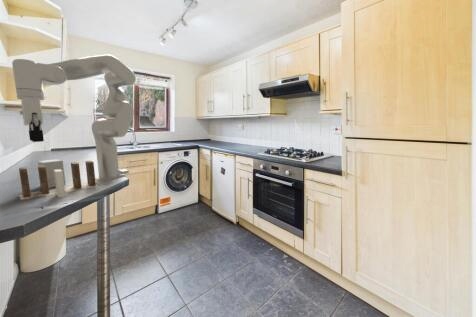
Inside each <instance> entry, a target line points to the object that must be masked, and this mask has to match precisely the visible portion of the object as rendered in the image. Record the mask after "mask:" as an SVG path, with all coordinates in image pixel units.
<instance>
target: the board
mask: <svg viewBox="0 0 476 317" xmlns="http://www.w3.org/2000/svg"><path fill="white" fill-rule="evenodd" d="M81 187H82V188H79V189H76V188H74V186H73V185H70V186H64V188H65V193H68V192H72V191H78V190H83V189H90V188H94V187H95V188H97V187H100V184H97V183H96V186H89V185H88V183H84V184H83V183H81ZM30 194H31V197H26V198H24V197H23V193H22V194H21V193H20V194H19V195H18V196H19V199H20V201H21V200H27V199H28V200H29V199H34V198H37V197H38V198H39V197H44V196H49V195H57V192H56V188H50V189H49V194H44V195H43V194H42V192H41V190H39V191H34V192H33V191H32V192H30Z"/></svg>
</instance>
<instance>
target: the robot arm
mask: <svg viewBox="0 0 476 317" xmlns="http://www.w3.org/2000/svg"><path fill="white" fill-rule="evenodd" d="M11 64H12V71H13V79H14V87H15V95H16V99H18V100H20V101H21V112H22V119H23V125H24V126H25V127H26V126H28V135H29V141H31V142H34V143H37V142H38V143H39V142H42V143H43V142H44V140H45V139H44V132H43V128H42V126H43V124H44V123H43V111H42V109H43V108H42V101H45V96H44V94H45V93H44V86H59V85H62V84H65V82H66V81H77V80H84V79H88V78H92V77H96V76H100V75H104V76H103V78H104V81H105V84H106V86H107V88H108V95H107V98H106V99H105V100H106V101H105V103H104V105H103V108H102V111H101V113H102V116H103V117H104V118H99V119H96V120H95V121H93V122H92V124H91V133H92V135H93V139H94V142H95V152H96V153H95V154H96V160H97V162H96V163H97V171H98V176H95V180H101V181H102V180H103V181H104V180H105V181H107V180H114V179H119V178H121V177H123V175H124V174H125V175H127V174H129V173H130V172H129V169H120V167H119V157H118V146H117V142H116V140H115V138H124V137H125V136H126V135H127V133H128V132H129V129H130V127H131V124H132V121H133V118H134V116H135V112H134V111H135V110H134V106H133V104H131V103H130V102H129V101H126V100H127V95H126V93H125V91H124V89H123V86H124V87H125V86H133V85H134V84H135V82H136V81H137V80H136V79H137V78H136V75H135V73H134V71H133V70H132V69H131V68H130V67H129V66H127V65H126V64H125V63H123V61H121V60H120V59H119V58H117V57H116V56H114V55H112V54H101V55H94V56H93V55H92V56H85V57H79V58H74V59H73V58H72V59H68V60H67V59H66V60H63V61H59V62H54V63H41V62H37V61H35V60H30V59H24V58H15V59H13V60H12V62H11Z"/></svg>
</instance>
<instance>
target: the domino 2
mask: <svg viewBox="0 0 476 317" xmlns="http://www.w3.org/2000/svg"><path fill="white" fill-rule="evenodd" d="M54 177H55V184H56V187H55V189H56V192H57V194H56V195H57V197H58V198H63V197H66V192H65V188H64V187H65V185H64V180H63V172H62V170H60V169H58V170H54Z"/></svg>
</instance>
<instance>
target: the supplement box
mask: <svg viewBox="0 0 476 317" xmlns="http://www.w3.org/2000/svg"><path fill="white" fill-rule="evenodd" d="M43 165H44V166H45V167H46V173H47V181H48V188H49V189H53V188H56V184H55V177H54V170H58V169H60V170H62V172H63V180H64V186H66V185H67V183H66V177H65V176H66V175H65V168H64V161H63V160H62V159H58V158H57V159H54V158H53V159H46V160H38V161H37V167H38V166H43Z"/></svg>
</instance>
